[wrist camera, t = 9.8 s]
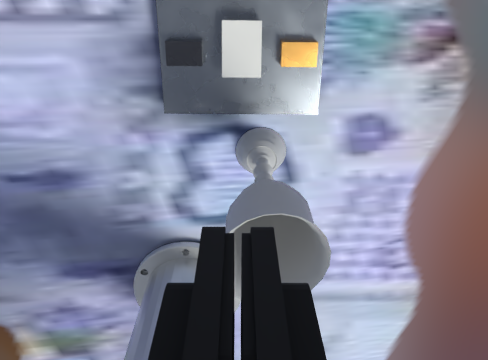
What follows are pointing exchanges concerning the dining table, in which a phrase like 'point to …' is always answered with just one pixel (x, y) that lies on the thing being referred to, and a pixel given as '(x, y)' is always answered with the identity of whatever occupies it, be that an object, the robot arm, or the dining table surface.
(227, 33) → the block
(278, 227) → the chalice
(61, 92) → the dining table surface
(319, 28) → the panel
